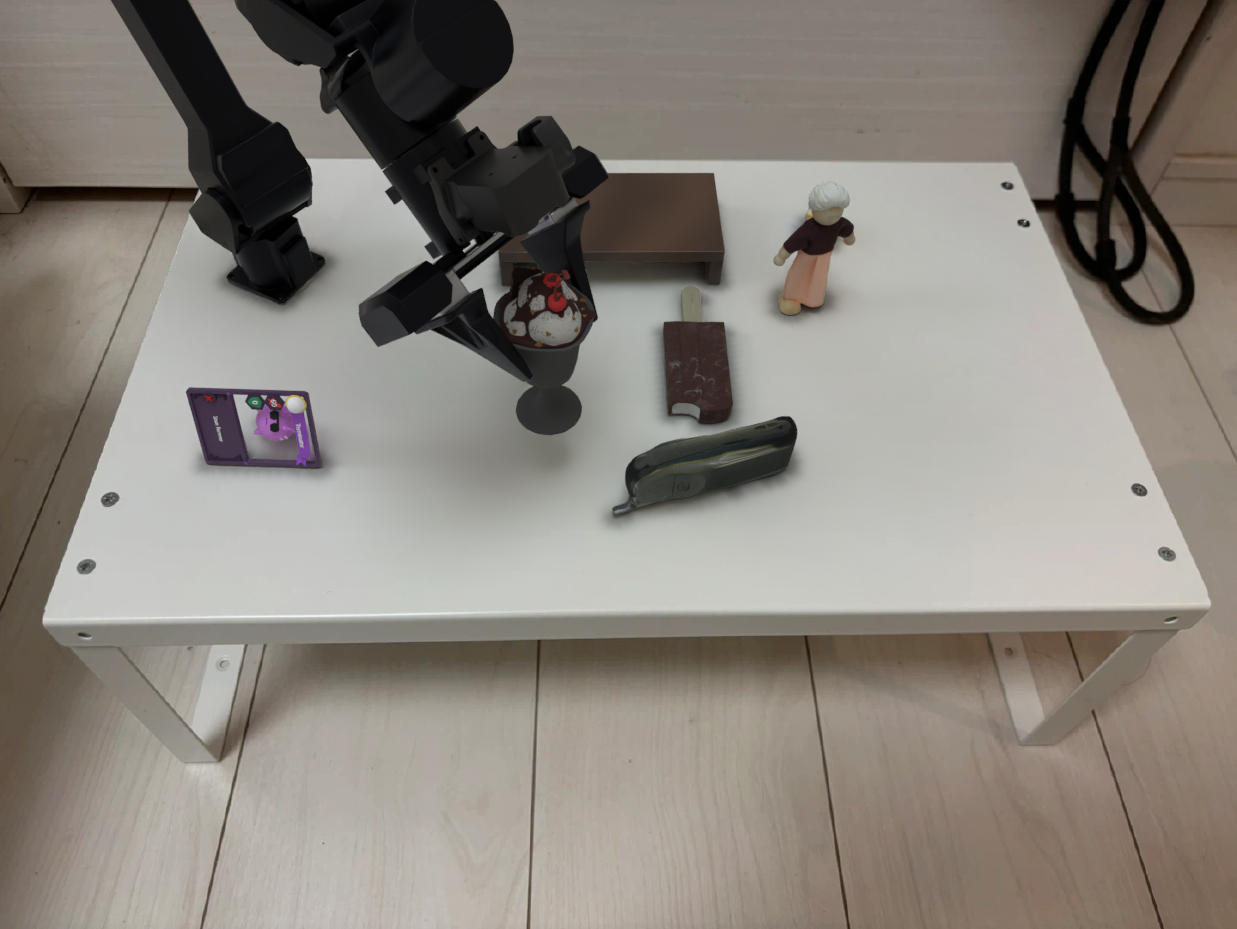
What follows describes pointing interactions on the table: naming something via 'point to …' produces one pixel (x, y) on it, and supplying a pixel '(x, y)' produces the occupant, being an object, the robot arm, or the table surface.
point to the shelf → (645, 223)
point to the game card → (273, 422)
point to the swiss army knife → (709, 462)
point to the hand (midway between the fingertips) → (561, 350)
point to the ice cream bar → (697, 364)
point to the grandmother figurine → (814, 248)
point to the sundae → (546, 344)
